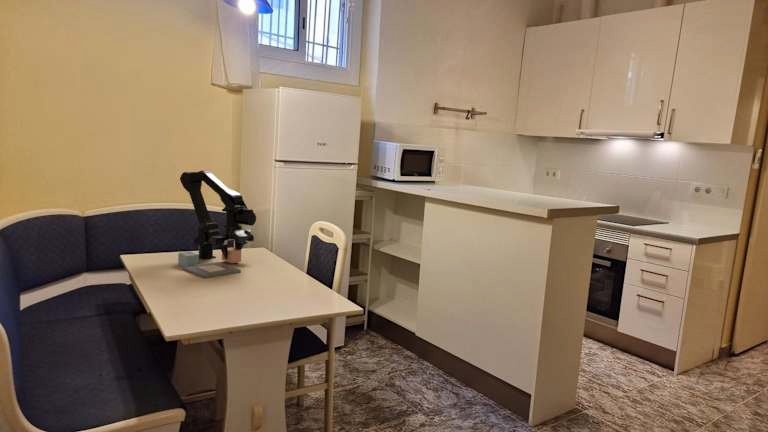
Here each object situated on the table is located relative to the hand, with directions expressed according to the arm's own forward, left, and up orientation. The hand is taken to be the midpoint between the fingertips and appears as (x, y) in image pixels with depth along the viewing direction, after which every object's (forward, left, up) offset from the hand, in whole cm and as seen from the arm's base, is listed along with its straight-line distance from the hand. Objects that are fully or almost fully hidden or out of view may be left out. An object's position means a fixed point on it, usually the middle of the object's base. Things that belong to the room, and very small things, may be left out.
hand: (231, 258), depth 219 cm
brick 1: (-5, -17, -2) cm, 18 cm away
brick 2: (0, 0, -1) cm, 1 cm away
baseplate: (+8, -14, -2) cm, 16 cm away
